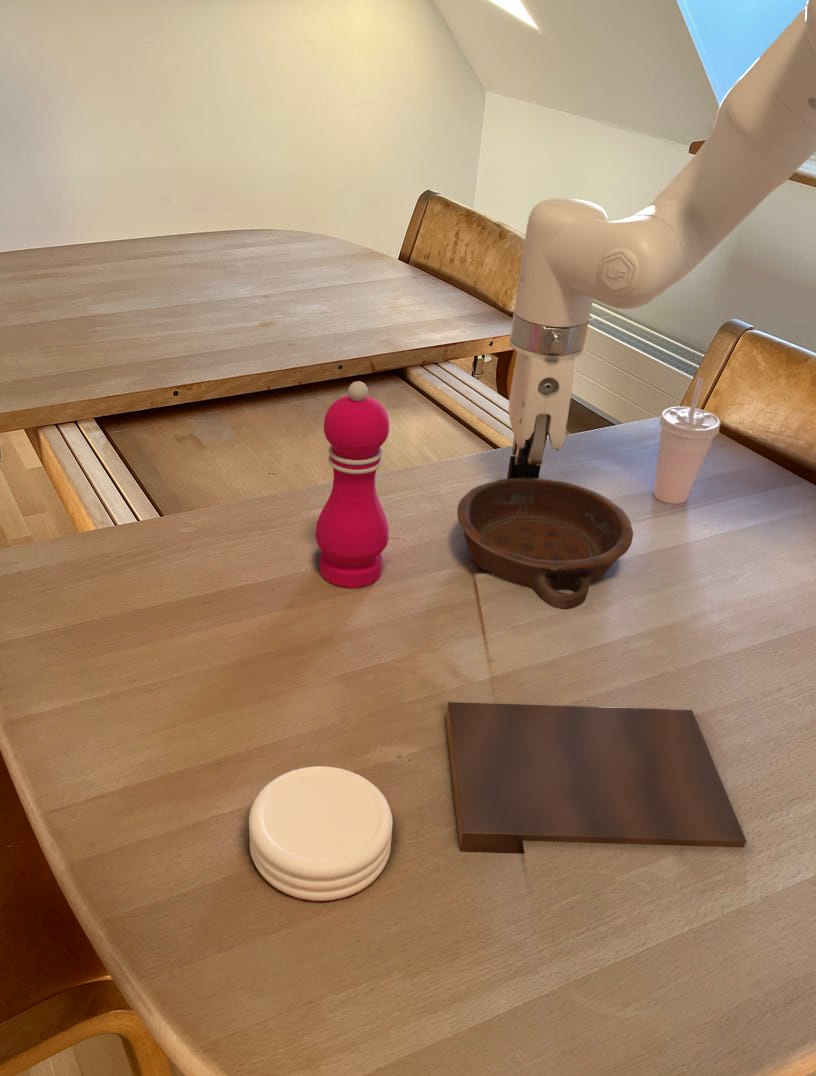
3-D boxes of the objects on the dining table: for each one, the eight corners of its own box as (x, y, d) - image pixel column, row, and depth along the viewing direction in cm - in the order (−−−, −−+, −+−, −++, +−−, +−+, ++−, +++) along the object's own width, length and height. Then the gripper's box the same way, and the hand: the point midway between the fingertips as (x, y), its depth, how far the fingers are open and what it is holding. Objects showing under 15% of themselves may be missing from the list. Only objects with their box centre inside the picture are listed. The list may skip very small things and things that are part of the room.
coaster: (327, 776, 75) (328, 743, 73) (418, 854, 69) (422, 820, 67) (222, 840, 69) (219, 806, 67) (311, 930, 64) (311, 896, 61)
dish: (579, 501, 110) (587, 462, 107) (660, 614, 93) (673, 570, 90) (430, 510, 108) (434, 470, 105) (486, 627, 91) (492, 583, 88)
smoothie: (697, 486, 114) (729, 372, 106) (700, 513, 109) (735, 395, 101) (641, 479, 115) (669, 366, 107) (642, 505, 110) (671, 388, 102)
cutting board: (686, 727, 80) (692, 709, 79) (738, 860, 69) (747, 841, 68) (445, 720, 80) (447, 701, 79) (459, 851, 69) (462, 832, 68)
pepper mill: (390, 556, 100) (403, 370, 88) (381, 595, 94) (393, 402, 82) (322, 548, 101) (325, 363, 89) (308, 586, 95) (310, 394, 83)
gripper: (598, 362, 93) (563, 527, 104) (572, 309, 105) (543, 462, 116) (520, 359, 93) (494, 524, 104) (503, 306, 104) (481, 459, 116)
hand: (520, 491), depth 110 cm, fingers closed
